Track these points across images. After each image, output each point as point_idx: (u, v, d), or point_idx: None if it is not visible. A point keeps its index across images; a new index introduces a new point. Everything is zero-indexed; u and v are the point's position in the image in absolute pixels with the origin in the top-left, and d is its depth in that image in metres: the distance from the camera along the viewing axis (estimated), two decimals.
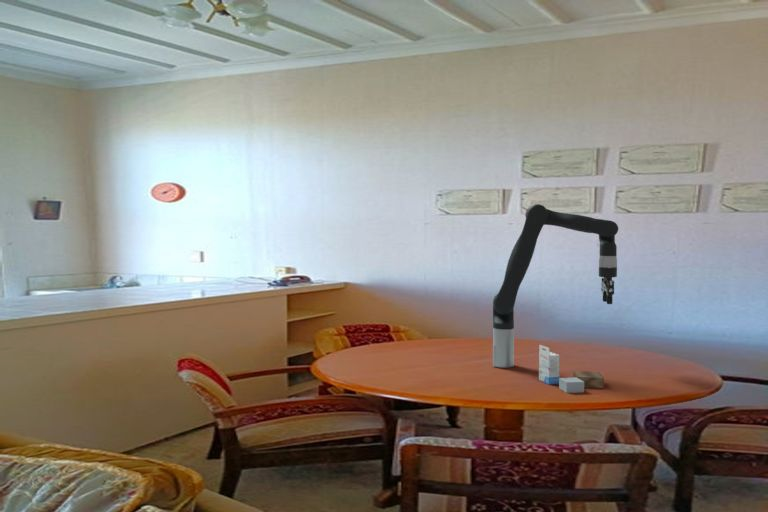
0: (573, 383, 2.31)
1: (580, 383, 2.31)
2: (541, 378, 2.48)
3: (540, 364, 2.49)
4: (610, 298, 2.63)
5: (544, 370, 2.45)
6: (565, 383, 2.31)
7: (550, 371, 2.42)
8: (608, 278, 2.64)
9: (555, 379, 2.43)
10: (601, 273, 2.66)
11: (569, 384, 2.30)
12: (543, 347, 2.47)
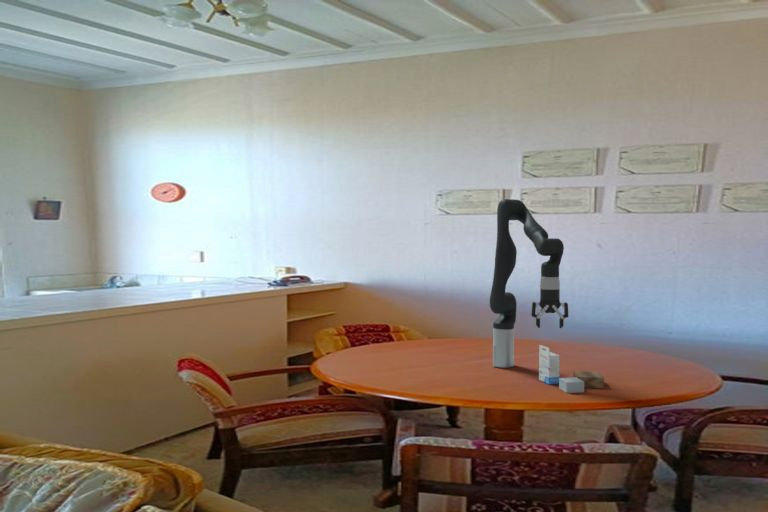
0: (573, 383, 2.31)
1: (580, 383, 2.31)
2: (541, 378, 2.48)
3: (540, 364, 2.49)
4: None
5: (544, 370, 2.45)
6: (565, 383, 2.31)
7: (550, 371, 2.42)
8: (559, 300, 2.45)
9: (555, 379, 2.43)
10: (556, 296, 2.42)
11: (569, 384, 2.30)
12: (543, 347, 2.47)
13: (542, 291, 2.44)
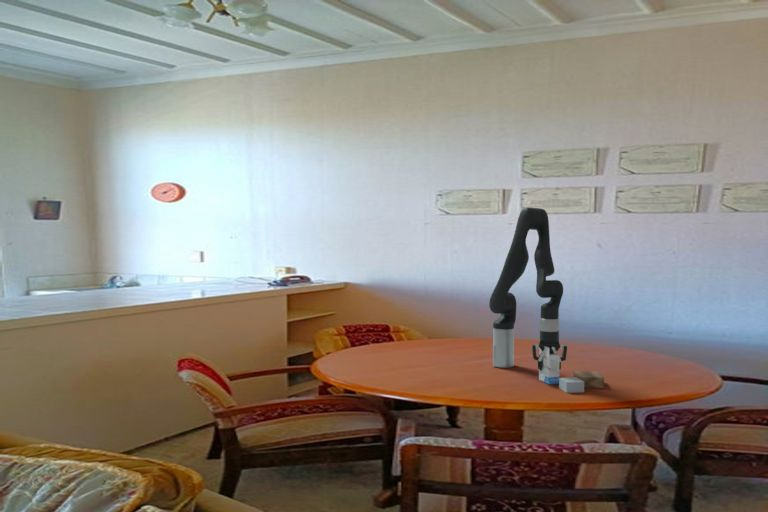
0: (573, 383, 2.31)
1: (580, 383, 2.31)
2: (541, 378, 2.48)
3: None
4: None
5: (544, 370, 2.45)
6: (565, 383, 2.31)
7: (550, 371, 2.43)
8: None
9: (555, 379, 2.43)
10: (555, 338, 2.43)
11: (569, 384, 2.30)
12: None
13: (542, 333, 2.45)
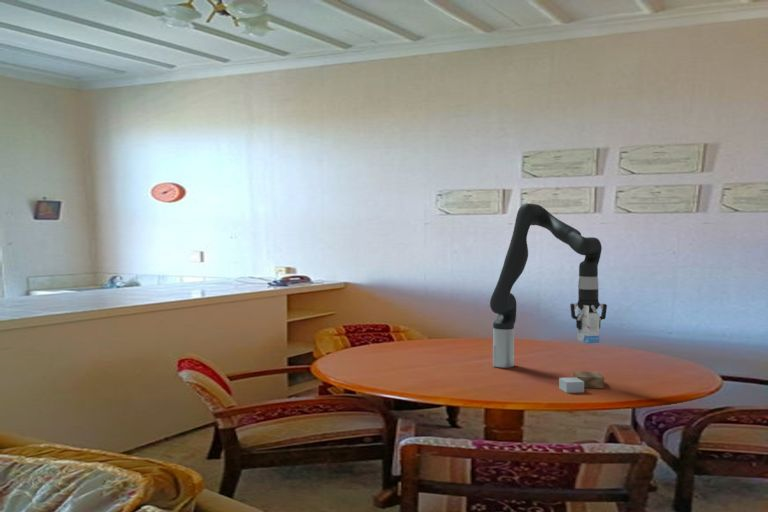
0: (573, 383, 2.31)
1: (580, 383, 2.31)
2: (580, 337, 2.43)
3: None
4: (599, 323, 2.41)
5: (584, 329, 2.40)
6: (565, 383, 2.31)
7: (590, 329, 2.37)
8: None
9: (595, 338, 2.38)
10: (595, 296, 2.38)
11: (569, 384, 2.30)
12: None
13: (580, 291, 2.40)
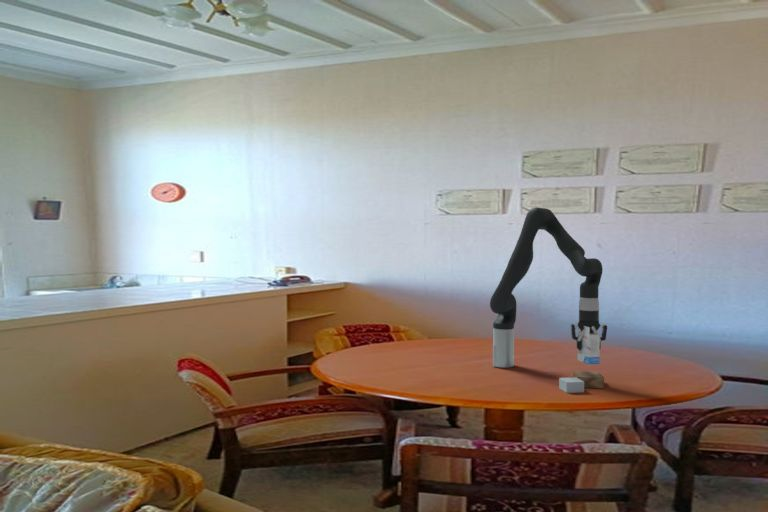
0: (573, 383, 2.31)
1: (580, 383, 2.31)
2: (580, 358, 2.44)
3: None
4: (600, 344, 2.42)
5: (584, 350, 2.41)
6: (565, 383, 2.31)
7: (590, 351, 2.38)
8: (598, 321, 2.41)
9: (595, 359, 2.39)
10: (595, 317, 2.39)
11: (569, 384, 2.30)
12: None
13: (581, 312, 2.40)
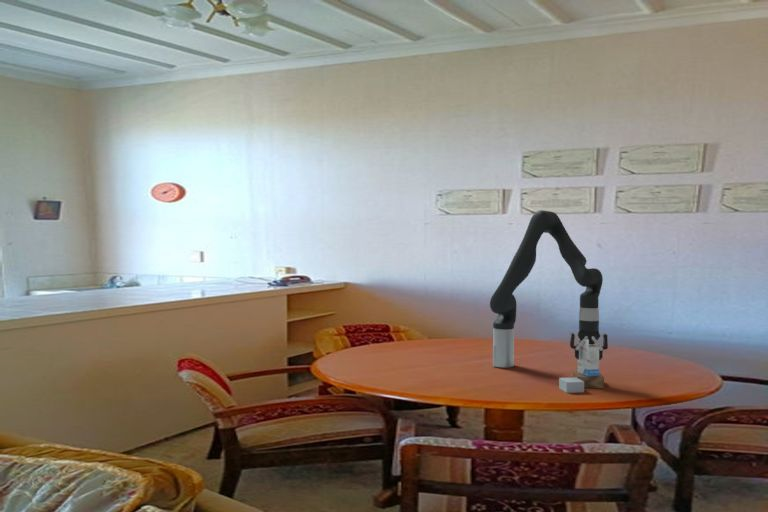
0: (573, 383, 2.31)
1: (580, 383, 2.31)
2: (580, 370, 2.44)
3: (579, 356, 2.45)
4: None
5: (583, 362, 2.41)
6: (565, 383, 2.31)
7: (589, 363, 2.38)
8: (598, 332, 2.41)
9: (595, 371, 2.39)
10: (595, 327, 2.39)
11: (569, 384, 2.30)
12: None
13: (581, 322, 2.40)
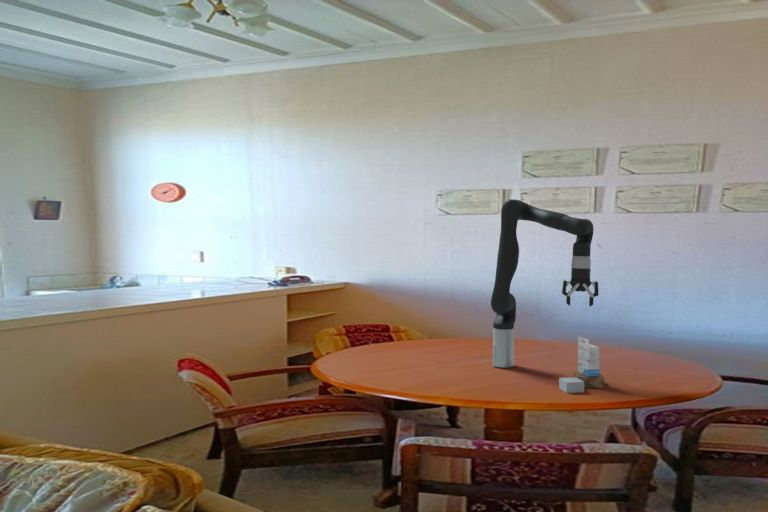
0: (573, 383, 2.31)
1: (580, 383, 2.31)
2: (580, 370, 2.44)
3: (579, 356, 2.45)
4: (592, 300, 2.53)
5: (583, 362, 2.41)
6: (565, 383, 2.31)
7: (590, 363, 2.38)
8: None
9: (595, 371, 2.39)
10: (587, 275, 2.50)
11: (569, 384, 2.30)
12: (582, 339, 2.42)
13: (573, 270, 2.52)
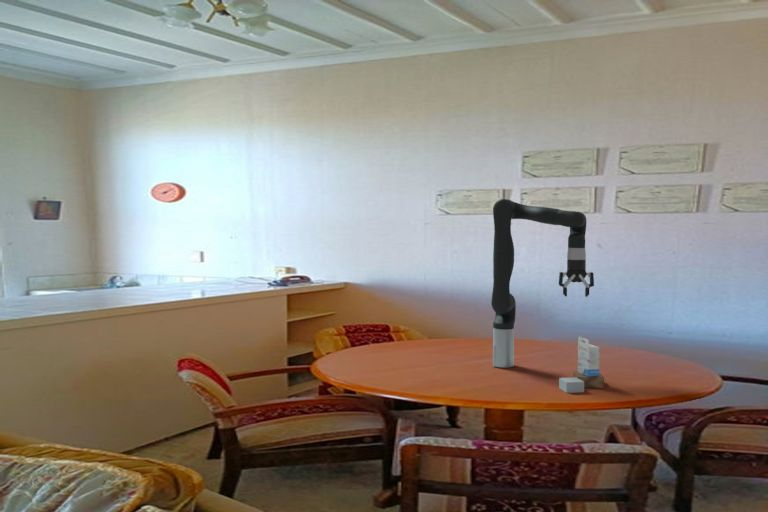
0: (573, 383, 2.31)
1: (580, 383, 2.31)
2: (580, 370, 2.44)
3: (579, 356, 2.45)
4: (588, 290, 2.60)
5: (583, 362, 2.41)
6: (565, 383, 2.31)
7: (590, 363, 2.38)
8: (585, 270, 2.59)
9: (595, 371, 2.39)
10: (582, 266, 2.57)
11: (569, 384, 2.30)
12: (582, 339, 2.42)
13: (569, 261, 2.58)
